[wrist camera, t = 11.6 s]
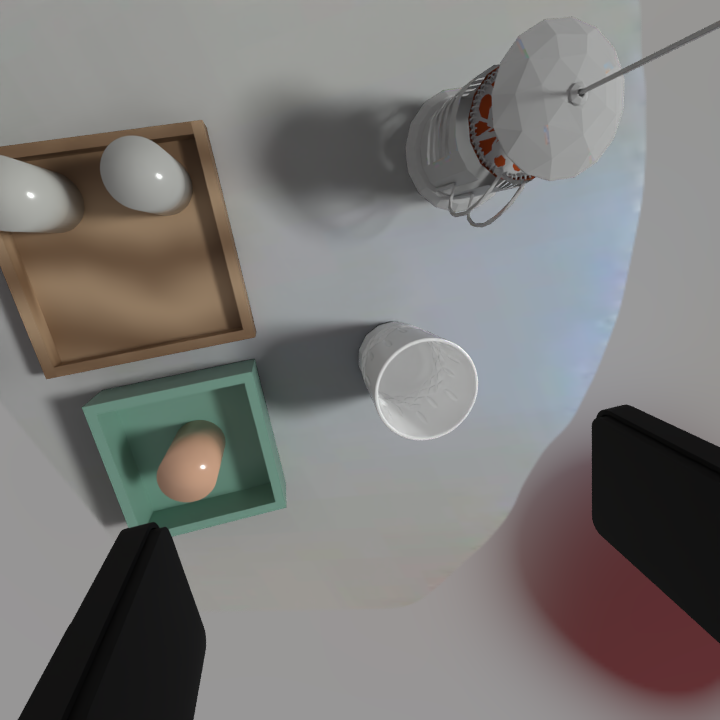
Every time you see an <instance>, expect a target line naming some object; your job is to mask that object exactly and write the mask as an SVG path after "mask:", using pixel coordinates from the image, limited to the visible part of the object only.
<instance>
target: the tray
mask: <svg viewBox="0 0 720 720" xmlns="http://www.w3.org/2000/svg"><path fill="white" fill-rule="evenodd" d="M124 136H140V137H144V138H147V139H149V140H151V141H153V142H154V143H156V144H157V145H159V146H160V147H161V148H162V149H163V150H165V151H166V152H167V153H168V154H170V155H171V156H172V157H173V158H175V159H176V160H177V161H178V162H179V163H181V164H182V165H183V166H184V167H185V169H186V170H187V172H188V173H189V175H190V178H191V181H192V185H193V193H192V198H191V201H190V203H189V204H188V206H187V207H186V208H185V209H184V210H183V211H181V212H180V213H178V214H175V215H171V216H161V215H156V214H152V213H147V212H143V211H139V210H134V209H131V208H128V207H126V206H124V205H122V204H121V203H119V202H118V201H116V200H115V199H114V198H113V197H112V196H111V194H110V193H109V192H108V191H107V189H106V187H105V185H104V183H103V181H102V178H101V173H100V162H101V157H102V154H103V152H104V150H105V149H106V148H107V146H108V145H109V144H110V143H111V142H113V141H114V140H116V139H118V138H121V137H124ZM0 155H2V156H6V157H9V158H12V159H16V160H19V161H22V162H25V163H28V164H32V165H35V166H38V167H41V168H44V169H48V170H51V171H54V172H57V173H60V174H62V175H64V176H65V177H67V178H68V179H70V180H71V181H72V182H73V183H74V184H75V185H76V186H77V188H78V189H79V191H80V193H81V195H82V197H83V201H84V214H83V218H82V220H81V221H80V223H79V224H78V225H77V226H76V227H75V228H74V229H72V230H70V231H68V232H64V233H36V232H9V231H0V267H1V269H2V272H3V274H4V277H5V279H6V282H7V284H8V287H9V289H10V291H11V294H12V296H13V299H14V301H15V304H16V306H17V309H18V311H19V313H20V316H21V318H22V321H23V323H24V326H25V328H26V331H27V333H28V336H29V338H30V340H31V343H32V345H33V348H34V350H35V353H36V355H37V358H38V360H39V363H40V365H41V367H42V370H43V372H44V375H45V377H46V379H50V378H55V377H60V376H65V375H70V374H75V373H80V372H85V371H90V370H95V369H100V368H105V367H110V366H115V365H120V364H125V363H130V362H135V361H139V360H144V359H149V358H154V357H159V356H164V355H169V354H174V353H179V352H184V351H189V350H194V349H199V348H204V347H209V346H214V345H219V344H224V343H229V342H234V341H239V340H244V339H249V338H254V337H255V336H256V329H255V325H254V320H253V316H252V312H251V308H250V304H249V300H248V296H247V292H246V288H245V283H244V279H243V275H242V271H241V267H240V263H239V259H238V255H237V251H236V247H235V242H234V238H233V234H232V230H231V226H230V222H229V218H228V214H227V210H226V205H225V201H224V197H223V193H222V189H221V185H220V181H219V177H218V173H217V168H216V164H215V160H214V156H213V152H212V148H211V144H210V140H209V136H208V132H207V127H206V126H205V124H204V122H203V121H202V120H198V121H190V122H183V123H175V124H168V125H160V126H153V127H145V128H138V129H130V130H123V131H115V132H107V133H100V134H92V135H85V136H77V137H70V138H62V139H55V140H47V141H39V142H32V143H24V144H17V145H9V146H2V147H0Z"/></svg>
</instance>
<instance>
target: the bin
mask: <svg viewBox="0 0 720 720" xmlns="http://www.w3.org/2000/svg"><path fill="white" fill-rule="evenodd" d="M82 409H83V412H84V414H85V417H86V420H87V422H88V425H89V427H90V430H91V432H92V435H93V438H94V440H95V443H96V445H97V448H98V450H99V453H100V456H101V458H102V461H103V463H104V466H105V468H106V471H107V473H108V476H109V479H110V481H111V484H112V486H113V489H114V491H115V494H116V497H117V499H118V502H119V504H120V507H121V509H122V512H123V515H124V517H125V520H126V522H127V525H128V527H129V528H131V527H135V526H139V525H143V524H147V523H151V522H155V523H157V525H158V526H159V528H162V527H167V528H168V529H169V531H170V533H171V536H176V535H180V534H184V533H188V532H192V531H196V530H200V529H204V528H208V527H212V526H215V525H219V524H223V523H227V522H231V521H235V520H239V519H243V518H247V517H251V516H255V515H259V514H263V513H266V512H270V511H274V510H278V509H282V508H286V483H285V479H284V475H283V471H282V467H281V463H280V459H279V455H278V451H277V447H276V443H275V439H274V434H273V430H272V426H271V422H270V418H269V414H268V410H267V406H266V402H265V398H264V394H263V390H262V386H261V382H260V378H259V374H258V370H257V366H256V362H255V359H251V360H246V361H241V362H236V363H231V364H227V365H222V366H217V367H212V368H207V369H203V370H198V371H193V372H188V373H183V374H178V375H174V376H169V377H164V378H159V379H154V380H149V381H145V382H140V383H135V384H130V385H125V386H120V387H116V388H111V389H106V390H102V391H101V392H100V393H98V394H97V395H96V396H95V397H94V398H93V399H91V400H90V401H89V402H88V403H87V404H85V405H84V406H83V407H82ZM195 420H205V421H209V422H212V423H214V424H215V425H217V426H218V427H219V428H220V429H221V430H222V432H223V433H224V436H225V440H226V445H225V449H224V453H223V457H222V461H221V465H220V469H219V473H218V477H217V481H216V484H215V487H214V488H213V490H212V491H211V492H210V493H209V494H208V495H207V496H206V497H204V498H202V499H200V500H198V501H194V502H179V501H175V500H173V499H171V498H169V497H168V496H166V495H165V494H164V493H163V492H162V491H161V489H160V488H159V486H158V483H157V471H158V468H159V466H160V464H161V462H162V460H163V458H164V456H165V455H166V453H167V451H168V449H169V447H170V445H171V443H172V441H173V439H174V437H175V435H176V434H177V432H178V430H179V429H180V428H181V427H182V426H183V425H185V424H186V423H188V422H191V421H195Z"/></svg>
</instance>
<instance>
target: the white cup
mask: <svg viewBox="0 0 720 720" xmlns="http://www.w3.org/2000/svg"><path fill="white" fill-rule="evenodd" d="M359 368H360V370H361V372H362V375H363V379H364V382H365V385H366V387H367V390H368V392H369V394H370V396H371V398H372V401H373V403H374V405H375V407H376V409H377V411H378V414H379V416H380V418H381V419H382V421H383V422H384V424H385V425H386V426H387V427H388V428H389V429H390V430H392V431H393V432H394V433H396V434H398V435H400V436H402V437H404V438H407V439H412V440H430V439H434V438H438V437H441V436H443V435H445V434H447V433H449V432H451V431H452V430H454V429H455V428H456V427H457V426H459V425H460V424H461V423H462V422H463V421H464V419H465V418H466V417H467V416H468V414H469V413H470V411H471V409H472V407H473V405H474V402H475V400H476V396H477V391H478V376H477V372H476V368H475V366H474V363H473V361H472V360H471V358H470V357H469V355H468V354H467V353H466V352H465V351H464V350H463V349H462V348H461V347H459V346H458V345H456V344H455V343H453V342H450V341H448V340H446V339H444V338H441V337H439V336H437V335H435V334H433V333H431V332H428V331H426V330H423V329H421V328H418V327H415V326H412V325H409V324H405V323H400V322H395V321H394V322H390V323H386V324H382V325H378V326H377V327H376V328H375V329H374V330H372V331H371V332H370V333H369V334H367V335H366V337H365V339H364V341H363V343H362V345H361V347H360V349H359Z"/></svg>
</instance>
